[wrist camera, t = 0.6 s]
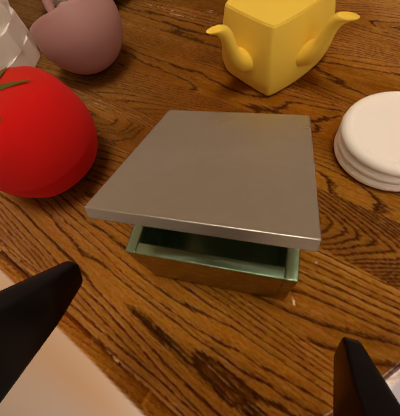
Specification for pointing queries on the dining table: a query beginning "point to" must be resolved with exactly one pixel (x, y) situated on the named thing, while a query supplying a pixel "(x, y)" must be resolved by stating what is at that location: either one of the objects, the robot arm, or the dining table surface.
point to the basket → (15, 40)
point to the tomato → (42, 134)
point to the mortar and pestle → (79, 34)
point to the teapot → (276, 39)
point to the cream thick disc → (371, 141)
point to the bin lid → (220, 179)
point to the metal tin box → (216, 261)
